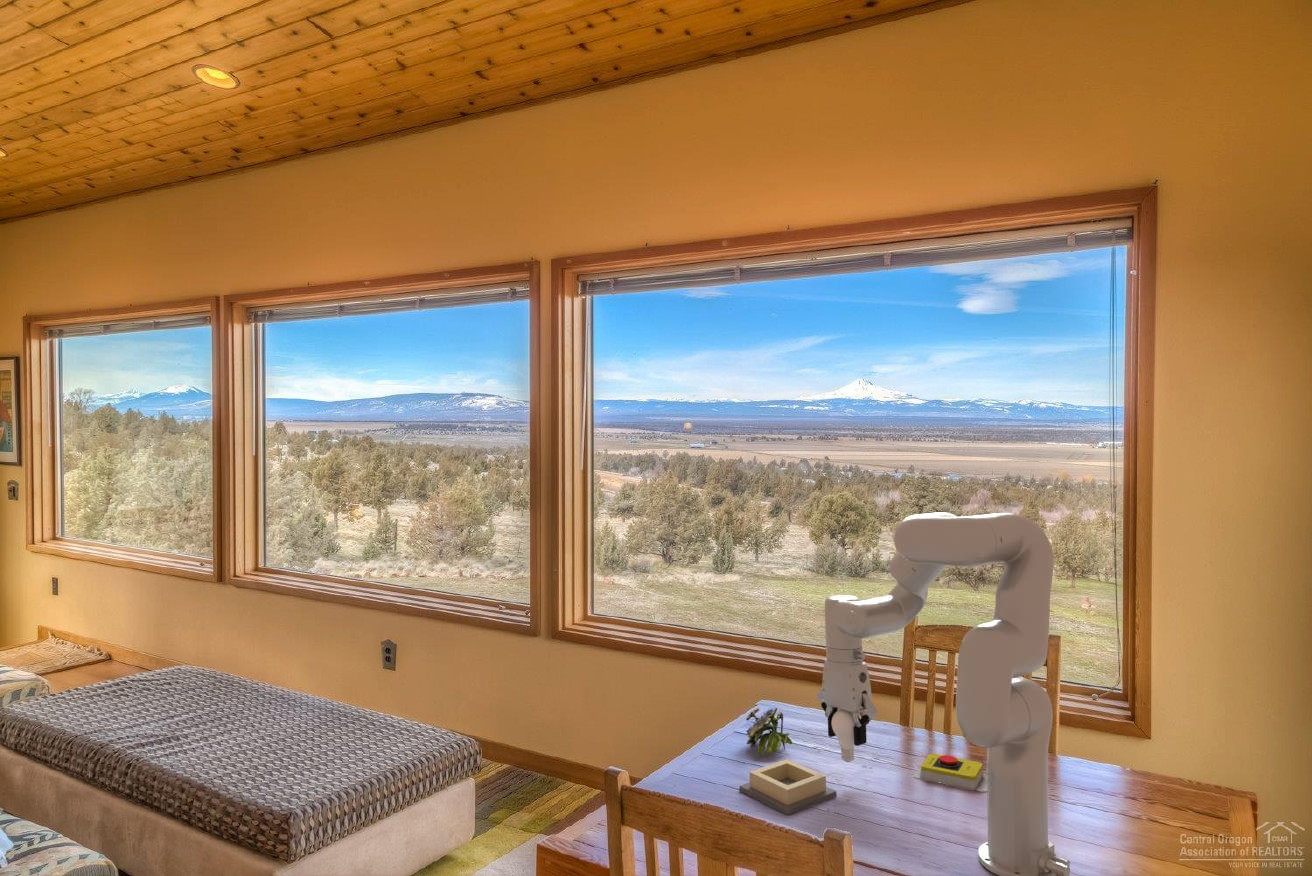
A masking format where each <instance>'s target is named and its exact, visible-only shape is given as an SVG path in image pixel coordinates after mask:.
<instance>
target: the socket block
mask: <svg viewBox="0 0 1312 876" xmlns="http://www.w3.org/2000/svg"><path fill="white" fill-rule="evenodd" d="M739 791H740V792H742V793H743V794H746V795H747V796H749V797H751V798H754V799H755V800H757V801H759V802H762V803H763V804H764V805H766V806H767V805H768V806H769V807H771V808H773V809H775V810H777V811H778V812H780V813H783V814H785V815H787V816H788V815H791V814H794V813H796V812H800V811H802V810H804V809H807V808H809V807H812V806H815V805H817V804H819V803H822V802H825V801H827V800H830V799H833V798H834V797H837V790H836V789H833V788H830V787H829V786H827V776H826V775H824V774H822V773H820V772H817V771H815V770H814V769H812V768H811V769H810V768H808V767H805V766H804V765H801V764H799V763H797V762H794V761H792V760H789V759H788V758H786V759H785V760H781V761H778V762H775V763H773V764H769V765H767V766H766V765H765V766H763V767H760V768H757V769H755V770H751V771H749V782H746V783H744V784H741V785H739Z"/></svg>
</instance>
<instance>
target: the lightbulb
mask: <svg viewBox="0 0 1312 876" xmlns="http://www.w3.org/2000/svg"><path fill="white" fill-rule="evenodd" d="M859 717H860V719H861V715H859ZM831 725H832V729H833V731H834V733H835V735H836V736H835V737H837V739H838V743H839V747H840V750H841V751H840V753H841V754H840V756H841V757H840V758H841V760H842V761H844V762H846V763H850V762H852V761H854V760H855V746H856V745H855V744H854V726H856V724H855V721H854V718H853V715H852V712H849V711H845V710H842V709H839V710H838V711H837V712H836V713H835V714H834V715H833V717H832V721H831Z"/></svg>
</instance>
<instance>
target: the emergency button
mask: <svg viewBox="0 0 1312 876" xmlns="http://www.w3.org/2000/svg"><path fill="white" fill-rule="evenodd" d="M983 766H984V765H983V762H980V761H976V760H975V761H974V760H970V759H964V758H960V757H955V756H952V755H948V754H947V755H946V754H945V755H943V754H939V753H938V754H937V753H933V752H932V753H929V754H928V756H927V757H926V758H925V759H924V760H923V762H922V763H921V764H920V767H919V768H918V769H917V771H916V772H915V773H914V774H913V777H914V779H917V778H918V779H917V780H921V779H922V781H926V780H927V781H926V782H931V781H932V783H936V782H941V783H945V784H948V785H947V786H950V785H952V787H954V788H960V789H964V790H969V789H972V790H971V791H974V790H977V791H976V792H978V791H979V792H980V793H987V777H983V776H984V775H986V774H985V773H984V769H983V768H984V767H983ZM945 784H944V785H945ZM979 792H978V793H979Z"/></svg>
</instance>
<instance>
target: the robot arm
mask: <svg viewBox="0 0 1312 876" xmlns="http://www.w3.org/2000/svg"><path fill="white" fill-rule="evenodd" d="M893 540H894V541H893V543H894V547H895V549H896V551H897V552H896V554H894V556H893V557H892V558H891V560H890V561H889V565H888V567H889V568H888V569H889V573H890V574H891V576H892V578H893V580H894V581H895V582H896V583H897V584H895V586H894V587H893V588H892V589H891V590H890V592H889V593H887V595H885V596H878V597H872V598H867V599H861V600H860V599H859V598H858V597H857V596H855V595H852V594H833V595H829V596H827V597H826V599H825V601H824V620H825V622H824V623H825V624H824V625H825V628H824V629H825V654H826V655H825V657H826V658H824V663H823V669H822V682H821V683H822V684H821V686H822V689H821V690H819V692H818V693H817V694H816V699H817V700H818V702H819V703H820V705H821V708H822V710H823V711H824V716H825V717H826V718H827V736H828V737H830V738H832V737H837V736H836V735H835V733H834V731H833V729H832V725H831V721H832V717H833V715H834V714H835V713H836V712H837V711H838V710H840V709H842V710H845V711H849V712H852V715H853V718H854V721H855V724H856V726H854V744H855V746H856V747H859V746H861V745H865V744H867V725H869V723H870V722H871V721H872V720H873V718H874V717H875V716H876V715H877V714H878V709H877V707H876V706H875V705H874V704H873V701H872V700H873V698H872V686H871V679H870V675H869V670H868V669H869V668H868V666H867V662H865V661H864V660H865V659H866V653H864V652H863V639H870V638H875V637H878V636H884V635H888V634H892V633H897V632H899V631H901V630H903V629H904V628H905V627H907V626H908V625H909V624H910V623H912V621H913V620H914V619H915V618H916V617H917V616H918V615H919V613H921V612H922V610H923V609H924V607H925V605H926V602H927V599H928V594H929V589H928V588H929V587H930V586H932V584H933V583H934V582H935V580H936V579H937V578H938V577H939V576H940V575H941V574H942V573H943V572H944V570H945V569H946V568H948V567H950V566H951V567H963V568H969V567H981V566H987V565H994V564H1000V563H1003V564H1004V568H1003V571H1002V573H1001V576H1000V577H999V580H998V583H997V585H996V591H995V603H994V604H995V606H994V615H993V618H992V620H991V621H989V622H985V623H981V624H978V625H975V626H973V627H972V628H970V629H969V630H968V631H967V632H966V633H965V635H964V636H963V638H962V640H961V643H960V645H959V649H958V657H957V658H958V659H957V672H956V673H957V676H956V678H957V679H956V693H955V694H956V697H955V713H956V719H957V724H958V726H959V729H960V731H961V732H962V735H964V737H965V738H966V739H967V740H968V741H969V742H971V744H972V745H975V746H977V747H980V748H984V749H987V754H986V755H987V757H986V775H987V792H986V794H987V796H986V797H987V799H986V800H987V801H986V802H987V804H986V805H987V807H986V808H987V841H986V842H984V843H983V844H981V845H980V846H979V848H978V850H977V854H978V855H977V857H978V858H977V859H978V860H979V862H980V863H981V865H982V866H983V867H985V869H986V870H988V871H989V872H990V873H992V874H994V875H997V876H1070V874H1071V868H1070V867H1071V861H1070V860H1068V859H1066V858H1064V857H1062V856H1061V857H1060V856H1058V855H1057V853H1055V844H1054V843H1052V842H1050V841H1049V819H1048V818H1049V817H1048V815H1049V813H1048V812H1049V810H1048V809H1049V808H1048V807H1049V806H1048V805H1049V804H1048V799H1049V798H1048V794H1049V793H1048V776H1049V775H1048V758H1049V752H1048V751H1049V744H1050V737H1051V732H1052V727H1053V717H1054V714H1053V705H1052V701H1051V699H1050V697H1049V694H1048V693H1047V691H1046V690H1045V689H1044V687H1042V686H1041V685H1040V684H1039V683H1038V682H1036V681H1033V680H1031V679H1029V678H1025V677H1022V676H1026V675H1029V674H1032V673H1034V672H1037V671H1038V670H1040V669H1041V668H1042V667H1044V664H1045V663H1046V662H1047V657H1048V652H1049V651H1048V649H1049V634H1050V633H1049V632H1050V630H1049V629H1050V619H1051V618H1050V617H1051V614H1050V613H1051V590H1052V583H1053V575H1054V563H1055V562H1054V561H1055V560H1054V551H1053V548H1052V545H1051V542H1050V540H1049V537H1048V536H1047V534H1046V532H1044V530H1043V529H1042V528H1041V526H1040V525H1038V524H1037V523H1036V522H1035V521H1033V520H1031V519H1030V518H1028V517H1026V516H1024V515H1020V514H1017V513H1012V512H1011V513H1009V512H998V513H988V514H978V515H970V516H969V515H968V516H957V515H955V514H953V513H949V512H931V513H919V514H913V515H908V516H907V517H905V518H904V519H902V520H901V521H900V523H898V525H897V527H896V528H895V532H894V536H893ZM859 716H860V717H859ZM860 718H861V719H860Z"/></svg>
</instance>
